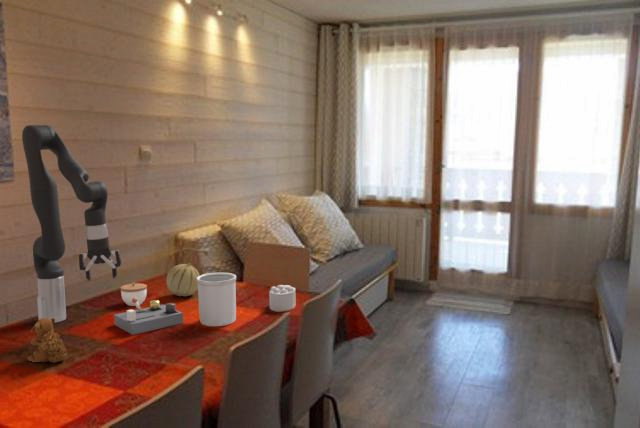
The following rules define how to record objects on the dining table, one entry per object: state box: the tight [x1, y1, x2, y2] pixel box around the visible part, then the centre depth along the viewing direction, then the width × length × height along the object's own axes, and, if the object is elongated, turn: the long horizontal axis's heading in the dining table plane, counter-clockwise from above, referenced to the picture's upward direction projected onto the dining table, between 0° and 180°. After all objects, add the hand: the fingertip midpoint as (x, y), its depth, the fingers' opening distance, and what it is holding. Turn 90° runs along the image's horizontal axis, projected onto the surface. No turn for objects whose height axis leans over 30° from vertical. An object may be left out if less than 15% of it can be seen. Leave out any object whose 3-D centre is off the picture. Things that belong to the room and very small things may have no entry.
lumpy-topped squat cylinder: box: [268, 284, 297, 313], centre depth 232 cm, size 10×13×9 cm
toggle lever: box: [132, 298, 142, 311], centre depth 212 cm, size 2×2×6 cm
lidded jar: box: [120, 281, 148, 307], centre depth 239 cm, size 11×11×9 cm
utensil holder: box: [197, 272, 237, 327], centre depth 213 cm, size 15×15×18 cm
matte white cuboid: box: [126, 309, 136, 322], centre depth 202 cm, size 2×3×4 cm, turn 42°
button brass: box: [149, 299, 161, 310], centre depth 216 cm, size 4×4×3 cm
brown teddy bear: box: [27, 318, 68, 364], centre depth 175 cm, size 10×14×13 cm
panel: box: [113, 304, 184, 336], centre depth 211 cm, size 20×16×4 cm
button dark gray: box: [164, 302, 176, 313], centre depth 212 cm, size 4×4×3 cm
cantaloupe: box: [166, 262, 200, 297], centre depth 251 cm, size 15×15×15 cm
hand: (102, 278), depth 206 cm, fingers open, 8 cm apart
